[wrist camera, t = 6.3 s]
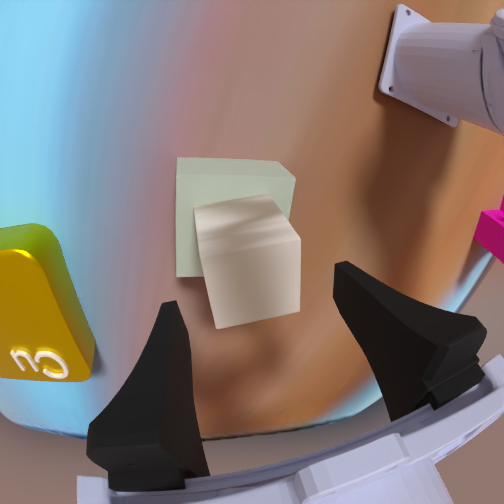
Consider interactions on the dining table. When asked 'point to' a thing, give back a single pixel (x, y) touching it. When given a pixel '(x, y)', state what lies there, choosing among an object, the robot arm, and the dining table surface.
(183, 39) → the dining table surface
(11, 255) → the element tile
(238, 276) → the ash block
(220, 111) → the dining table surface
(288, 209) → the sage base block
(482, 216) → the toy block
